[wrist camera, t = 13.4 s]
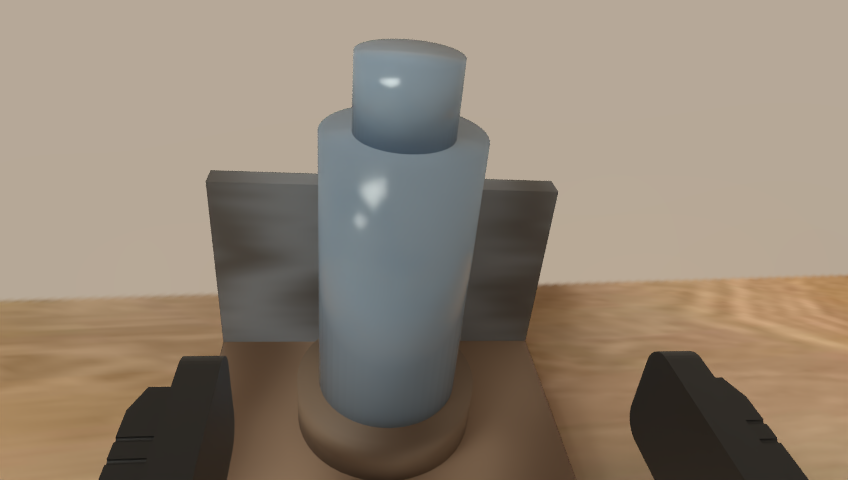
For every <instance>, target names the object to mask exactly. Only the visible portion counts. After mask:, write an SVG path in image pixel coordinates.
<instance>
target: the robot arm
mask: <svg viewBox="0 0 848 480" xmlns="http://www.w3.org/2000/svg"><path fill="white" fill-rule="evenodd" d="M630 426H631V431H632V434H633V437H634V440H635V442H636V444H637V446H638V448H639V450H640V452H641V454H642V456H643V458H644V460H645V462H646V464H647V466H648V468H649V470H650V472H651V474H652V476H653V478H654V480H808V478H807V477H806V476H805V474H804V473H803V472H802V470H801V469H800V468H799V466H798V465H797V464H796V462H795V461H794V460H793V458H792V457H791V456H790V454H789V453H788V452H787V450H786V449H785V448H784V446H783V445H782V444H781V443H778V442H777V437H776V436H775V434H774V433H773V432H772V430H771V429H770V428H769V426H768V425H767V424H764V423H763V418H762V417H761V416H760V414H759V413H758V412H757V410H756V409H755V408H754V406H753V405H752V404H751V402H750V401H749V400H748V398H747V397H746V396H744V395H743V394H742V393H741V392H739V391H738V390H737V389H736V388H734V387H733V386H732V385H731V384H729V383H728V382H727V381H725V380H724V379H723V378H722V377H721V378H715V377H714V376H713V374H712V373H711V371H710V370H709V369H708V367H707V366H706V365H705V363H704V362H703V360H702V359H701V358H700V356H699V355H698V354H696V353H695V352H692V351H663V352H653V353H652V354H651V355H650V356H649V358H648V360H647V363H646V366H645V369H644V371H643V374H642V377H641V380H640V383H639V386H638V388H637V391H636V394H635V397H634V400H633V402H632V405H631V410H630ZM234 430H235V419H234V408H233V399H232V390H231V382H230V373H229V364H228V359H227V357H226V356H184V357H182V358H181V360H180V362H179V364H178V367H177V370H176V373H175V376H174V379H173V382H172V385H171V387H148V388H147V389H146V390H145V391H144V392H143V393H142V395H141V396H140V397H139V398H138V399H137V400H136V401H135V402H134V403H133V404H132V405H131V406H130V407H129V408H128V409H127V410H126V413H125V415H124V418H123V420H122V423H121V425H120V428H119V430H118V433H117V435H116V441H115V442H114V443H113V445H112V448H111V450H110V452H109V455H108V457H107V464H106V465H104V467H103V470H102V472H101V475H100V477H99V480H227V477H228V472H229V467H230V461H231V456H232V451H233V444H234Z"/></svg>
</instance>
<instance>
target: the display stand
mask: <svg viewBox="0 0 848 480" xmlns="http://www.w3.org/2000/svg"><path fill="white" fill-rule="evenodd" d="M206 188H207V197H208V206H209V215H210V224H211V233H212V242H213V251H214V260H215V269H216V277H217V287H218V297H219V306H220V315H221V324H222V333H223V346H222V350H221V353H220V356H226V357H227V359H228V364H229V373H230V382H231V390H232V399H233V408H234V419H235V430H234V444H233V451H232V456H231V461H230V467H229V472H228V477H227V480H576V478H575V475H574V472H573V469H572V467H571V464H570V461H569V459H568V456H567V453H566V450H565V448H564V445H563V442H562V439H561V437H560V434H559V431H558V429H557V426H556V423H555V420H554V418H553V415H552V412H551V410H550V407H549V404H548V401H547V399H546V396H545V393H544V390H543V388H542V385H541V382H540V380H539V377H538V374H537V371H536V369H535V366H534V363H533V361H532V358H531V355H530V352H529V350H528V347H527V344H526V342H525V339H526V335H527V330H528V326H529V321H530V317H531V312H532V308H533V303H534V299H535V294H536V290H537V285H538V281H539V276H540V271H541V267H542V262H543V258H544V253H545V249H546V244H547V240H548V236H549V230H550V227H551V222H552V217H553V213H554V208H555V204H556V200H557V195H558V191H557V189H556V188H555V186H554V185H553V183H552V182H551V181H527V180H497V179H496V180H495V179H484V186H483V192H482V199H481V206H480V212H479V219H478V225H477V232H476V239H475V245H474V252H473V258H472V265H471V272H470V278H469V285H468V291H467V298H466V305H465V311H464V318H463V324H462V331H461V338H460V344H459V351H458V357H457V364H456V371H455V377H454V384H453V389H452V393H451V395H450V397H449V400H448V401H447V402H446V404H445V405H444V406H443V407H442V408H441V410H440V411H438V412H437V413H436V414H434V415H433V416H431V417H430V418H428V419H426V420H424V421H422V422H419V423H417V424H413V425H410V426H405V427H397V428H379V427H372V426H367V425H363V424H360V423H357V422H354V421H352V420H350V419H348V418H346V417H344V416H343V415H341V414H340V413H338V412H337V411H336V410H335V409H334V408H332V407H331V405H330V404H329V403H328V402H327V401H326V399H325V397H324V396H323V394H322V391H321V389H320V384H319V285H318V174H309V173H308V174H307V173H276V172H275V173H274V172H246V171H245V172H244V171H215V170H211V171H210V173H209V175H208V178H207V180H206Z"/></svg>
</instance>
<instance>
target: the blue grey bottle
mask: <svg viewBox="0 0 848 480" xmlns="http://www.w3.org/2000/svg"><path fill="white" fill-rule="evenodd" d="M466 59H467V58H466V56H465V55H464V54H463V53H461V52H460V51H458V50H456V49H454V48H451V47H448V46H445V45H441V44H437V43H431V42H426V41H419V40H409V39H379V40H371V41H367V42H363V43H360V44H358V45H357V46H355V48H354V56H353V94H352V97H353V98H352V107H351V108H347V109H343V110H341V111H338V112H335V113H333V114H331V115H329V116H328V117H326V118H325V119H324V120H323V121H322V122H321V123H320V125H319V127H318V285H319V384H320V389H321V391H322V394H323V396H324V397H325V399H326V401H327V402H328V403H329V404H330V405H331V407H332V408H334V409H335V410H336V411H337V412H338V413H340V414H341V415H343V416H344V417H346V418H348V419H350V420H352V421H354V422H357V423H360V424H363V425H367V426H372V427H379V428H397V427H405V426H410V425H413V424H417V423H419V422H422V421H424V420H426V419H428V418H430V417H431V416H433V415H434V414H436V413H437V412H438V411H440V410H441V408H442V407H443V406H444V405H445V404H446V402H447V401H448V400H449V397H450V395H451V393H452V389H453V384H454V377H455V371H456V364H457V357H458V351H459V344H460V338H461V331H462V324H463V318H464V311H465V305H466V298H467V291H468V285H469V278H470V272H471V265H472V258H473V252H474V245H475V239H476V232H477V225H478V219H479V212H480V206H481V199H482V192H483V186H484V179H485V172H486V166H487V159H488V152H489V146H490V140H489V137H488V135H487V134H486V132H485V131H484V130H482V128H480V127H479V126H478V125H476V124H474V123H473V122H471V121H469V120H467V119H465V118H463V117H460V108H461V101H462V92H463V84H464V76H465V67H466Z"/></svg>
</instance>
